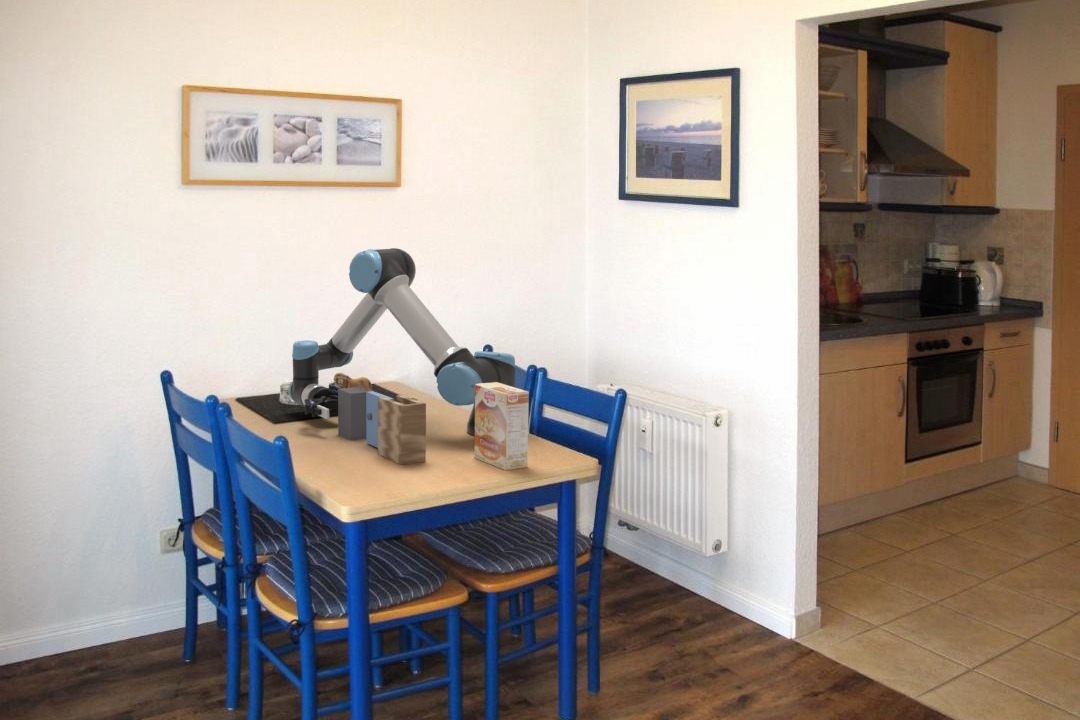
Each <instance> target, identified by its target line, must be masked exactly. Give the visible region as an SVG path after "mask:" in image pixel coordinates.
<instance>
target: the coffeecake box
mask: <svg viewBox="0 0 1080 720" xmlns="http://www.w3.org/2000/svg"><path fill="white" fill-rule="evenodd" d="M529 398H530V391H528V390H524V389H521V388H518V387H516V386H515V387H511V386H508V385H505V384H501V383H498V382H493V383H480V384H475V435H474V449H473V450H474V451H473V452H474V453H473V455H474V456H473V459H476V460H479V461H481V462H483V463H486V464H488V465H491V466H494V467H496V468H498V469H501V470H503V471H511V470H512V471H513V470H516V469H525V468H528V461H529V460H528V456H529V455H528V454H529V453H528V451H529V448H528V447H529V445H528V444H529V405H530V404H529Z"/></svg>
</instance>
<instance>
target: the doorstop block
mask: <svg viewBox="0 0 1080 720" xmlns="http://www.w3.org/2000/svg"><path fill="white" fill-rule="evenodd" d="M366 392H368V391H366V390H363V389H361V388H357V387H353V388H342V389H338V388H337V396H338V409H337V412H338V413H337V415H338V416H337V417H338V419H337V421H338V422H337V423H338V424H337V425H338V427H337V428H338V429H337V430H338V431H337V432H338V435H339V436H340V437H342V438H344V439H346V440H349V441H357V440H365V439H366ZM338 435H337V436H338Z"/></svg>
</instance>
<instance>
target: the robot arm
mask: <svg viewBox="0 0 1080 720" xmlns="http://www.w3.org/2000/svg"><path fill="white" fill-rule="evenodd" d="M348 269H349V272H348V276H349V277H348V278H349V282H350V283H351V285H352V287H353V288H354V289H355V290H356V291H357V292H360V293H363V294H364V293H365V295H364V297H363V298H362V299H361V300H360V302H359V303H358V305H356V306H355V308H354V309H353V310H352V312H351V313H350V314H349V316H347V318H346V319H345V321H344V322H343V323H342V324H341V326H340V327H339V328H338V329H337V331H336V332H335V333H334V335H333V336H332V337H331V338H330V339H329V341H328V342H327V343H325V344H320V345H319V344H318V342H317V341H315V340H298V341H297V340H296V341H295V342H294V343H292V354H291V357H292V382H291V383H290V384H289V386H288V389H287V393H288V396H289V398H290V399H291V400H292V401H293V402H295V403H296V404H297V405H300V406H303V407H304V415H305V416H308V415H310V414H311V417H312V418H316V417H317V416H318V417H321V418H323V419H325V420H330V412H331V411H332V410H336V409H337V410H338V395H336V393H335V392H334V391H333V390H332V389H331V388H328V387H326V386H324V385H321V384H319V377H320V375H319V371H322V370H327V369H329V370H330V369H334V368H341V367H343V366H346V365H348V364H350V363H351V362H352V360H353V357H354V350H355V349H356V347H357V346H358V345H359V344H360V343H361V341H362V340H363V339H364V338H365V336H366V335H367V334H368V333H369V331H370V330H371V329H372V328H373V327H374V326H375V324H376V323H377V322H378V321H379V320H380V318H382V316H383V315H384V314H385V313H386V311H389V312H390V314H391V315H392V316H393V317H394V319H396V320H397V322H398V323H399V324H400V326H401V327H402V328H403V330H405V332H406V333H407V335H409V337H410V339H412V341H413V342H414V343H415V344H416V346H417V347H418V348H419V350H420V351H422V353H423V354H424V356H426V358H427V360H428V361H430V362H431V364H432V365H433V366H434V370H433V375H434V377H435V378H436V384H437V386H436V388H437V391H438V393H439V395H440V396H441V398H442V399H444V401H445V402H447V403H449V404H450V405H453V406H458V407H459V406H460V407H461V406H471V405H472V408H471V412H470V415H469V418H468V419H467V420H468V421H467V424H466V425H467V426H466V433H468V434H469V435H472V436H475V384H480V383H493V382H498V383H501V384H505V385H508V386H511V387H515V388H516V368H517V367H516V358H515V356H514V355H513V354H511V353H505V352H494V351H485V350H483V351H481V350H480V351H479V350H477V351H475V352H474V353H473V354H472V353H471V351H470V350H469V349H468V348H467V347H464V346H462V347H461V346H458V344H457V343H456V342H455V341H454V339H453V338H452V337H451V336H450V334H449V333H448V332H447V331H446V329H445V328H444V327H443V325H441V323H440V322H439V321H438V319H437V318H436V317H435V316H434V315H433V314H432V312H431V311H430V310H429V309H428V307H427V306H426V305H425V304H424V303H423V301H422V300H421V299H420V298H419V297H418V295H417V294H416V293H415V292H414V290H413V289H412V288H411V286H412V284H413V282H414V279H415V277H416V269H417V268H416V263H415V261H414V258H413V257H412V256H411V255H410V253H408V252H407V251H406V250H403V249H401V248H396V247H395V248H383V249H382V248H381V249H379V248H378V249H377V248H376V249H372V248H370V249H367V250H362V251H359V252H357V253H356V254H355V255H354V256H353V258H352V259H351V261H350V264H349V267H348Z"/></svg>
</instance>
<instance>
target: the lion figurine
mask: <svg viewBox="0 0 1080 720" xmlns="http://www.w3.org/2000/svg"><path fill="white" fill-rule="evenodd" d="M333 383H334V386H335V387H336V388H337V390H338V389H342V388H353V387H357V388H360V389H363V390H365V391H368V392H370V391H374V389H373V385H372V382H371V380H370V379H368V377H359V378H351V377H350V376H349V375H347V374H345V373H344V372H337V373H336V374H334V377H333Z"/></svg>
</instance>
